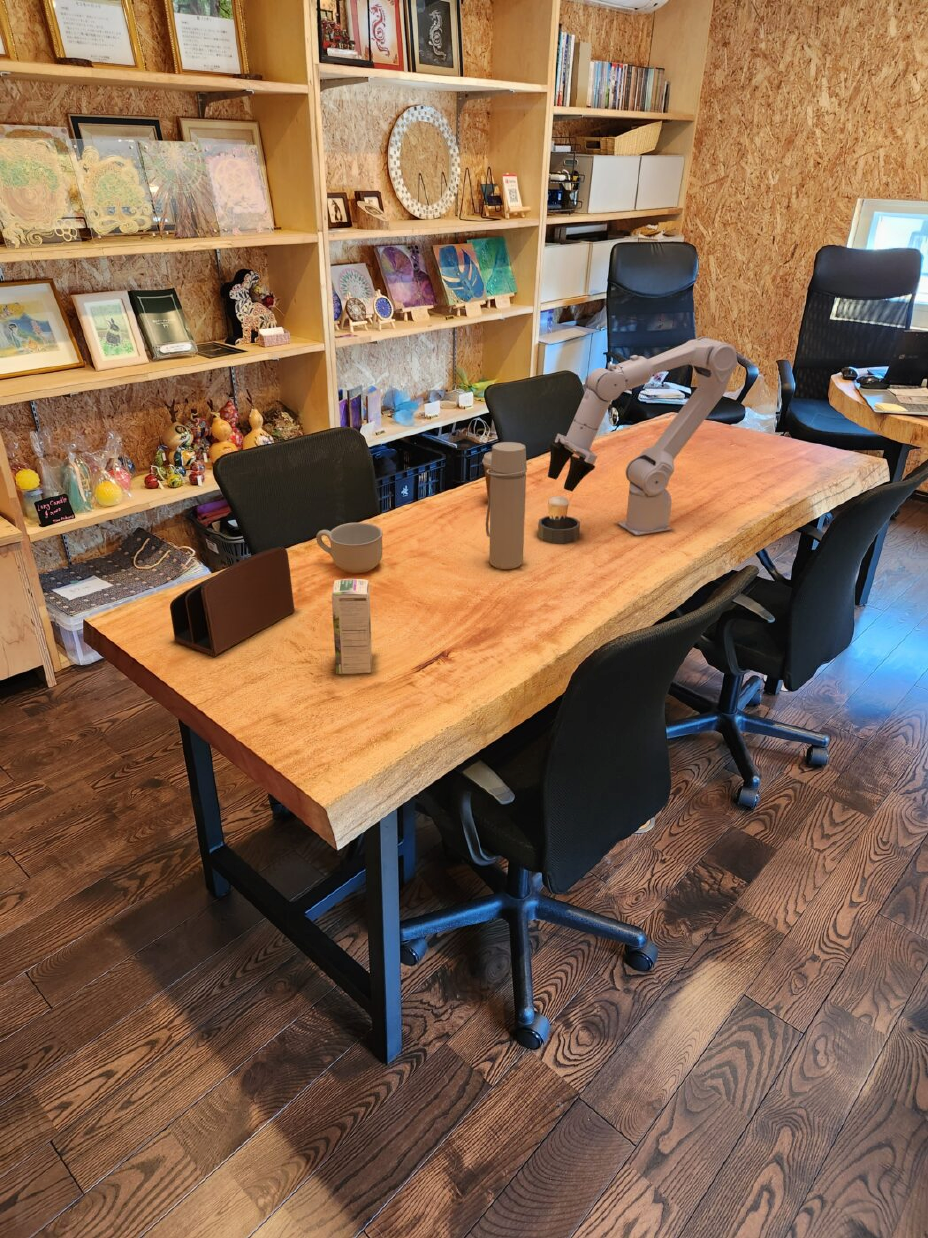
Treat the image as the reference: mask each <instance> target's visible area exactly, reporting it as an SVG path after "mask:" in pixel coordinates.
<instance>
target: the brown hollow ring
mask: <svg viewBox="0 0 928 1238" xmlns="http://www.w3.org/2000/svg"><path fill="white" fill-rule="evenodd" d="M580 526H581V522H580V520H578V519H577V518H575V517H572V516H569V515H567V517H566V525H565V529H552V528H549V515H546V516H542V518H540V519H538V526H537V537H538V538H539V539H540V540H542V541H543V542H546V543H550V544H559V545H561V544H563V545H564V544H570V543H574V542H576V541H578V540H580V528H581V527H580Z"/></svg>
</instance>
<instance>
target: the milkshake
mask: <svg viewBox="0 0 928 1238" xmlns="http://www.w3.org/2000/svg"><path fill="white" fill-rule="evenodd" d="M573 495H574V494H572V495H571V497H574V496H573ZM570 500H571V499H568V498H567V497H564V496H562V495H553V496H551V497H550V498H549V499H548V500H547V504H548V516H549V528H552V529H565V525H566V517H567V516H568V510H569V504H570Z"/></svg>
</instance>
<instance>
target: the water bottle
mask: <svg viewBox="0 0 928 1238" xmlns="http://www.w3.org/2000/svg"><path fill="white" fill-rule="evenodd" d="M491 449H492V450H491V452H492V457H491V466H490V467H489V468H490V469H488V470H487V471H486V472H487V473H488V474H490V475H491V479H490V489H489V498H488V497H487V508H486V517H485V534H486V537H488V538H489V550H488V551H489V556H488V557H489V558H488V559H489V564H490V565H491V566H493V567H494V568H496V569H500V570H514V569H517V568H519V567H520V566H521V565H523V563H524V546H525V520H526V519H525V518H526V517H525V515H526V491H527V489H526V487H527V474H526V473H527V471H528V465H527V449H526V445H525V444H522V443H520V442H514V441H502V442H497V443H495V444H493V445H492V448H491ZM488 471H490V473H489V472H488Z"/></svg>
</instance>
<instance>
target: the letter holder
mask: <svg viewBox="0 0 928 1238" xmlns="http://www.w3.org/2000/svg"><path fill="white" fill-rule="evenodd" d="M295 609H296V608H295V602H294V594H293V585H292V576H291V567H290V559H289V552H288V550H287V549H286V548H285V547H284V546H277V547H274V548H270V549H267V550H264V551H261V552H258V553H256V554H253V555H251V556H248V557H246V558H244V559H242V560H239V561H237V562H236V563H233V564H232V565H230V566H228V567H227V568H225V569H223V570H221V571H220V572H218V573H216V574H215V575H213V576H211V577H208V578H206V579H205V580H203V581H200V582H199V583H197V584H195V585H194V586H192V587H190V588H188V589H186V590H185V591H183V592H182V593H181V594H179V595H177V596H176V597H175V598H173V599H172V600H171V602H170V604H169V611H170V619H171V623H172V630H173V637H174V638H173V639H174V641H175V642H176V643H178V644H181V645H183V646H187V647H189V648H191V649H194V650H196V651H199V652H202V653H205V654H208V655H210V656H212V657H217V656H218V655H219V654H221V653H223V652H226V651H227V650H228V649H230V648H232V647H234V646H236V645H237V644H240V643H241V642H243V641H244V640H246V639H248V638H250V637H251V636H254V635H256V634H258V633H259V632H261V631H263V630H264V629H266V628H268V627H270V626H272V625H273V624H275V623H277V622H279V621H281V620H283V619H284V618H286V617H287V616H290V615H291V614H293V613H295Z"/></svg>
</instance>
